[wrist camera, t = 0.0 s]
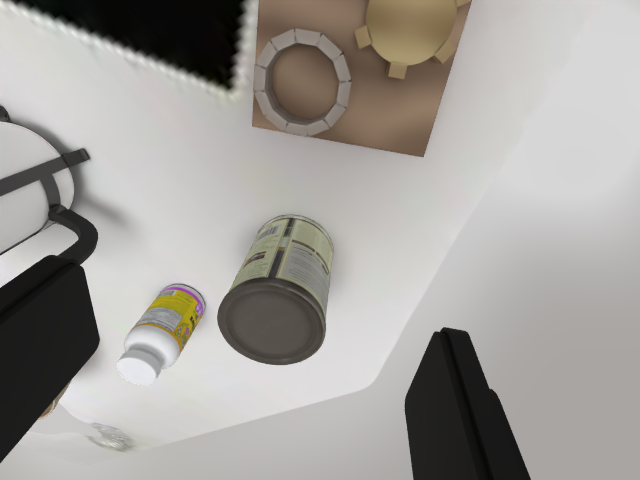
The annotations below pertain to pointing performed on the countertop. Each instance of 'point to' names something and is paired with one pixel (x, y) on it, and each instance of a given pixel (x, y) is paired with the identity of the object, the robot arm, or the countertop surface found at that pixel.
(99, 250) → the countertop surface
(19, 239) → the coffee press
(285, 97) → the carrier board
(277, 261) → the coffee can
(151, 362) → the supplement bottle
